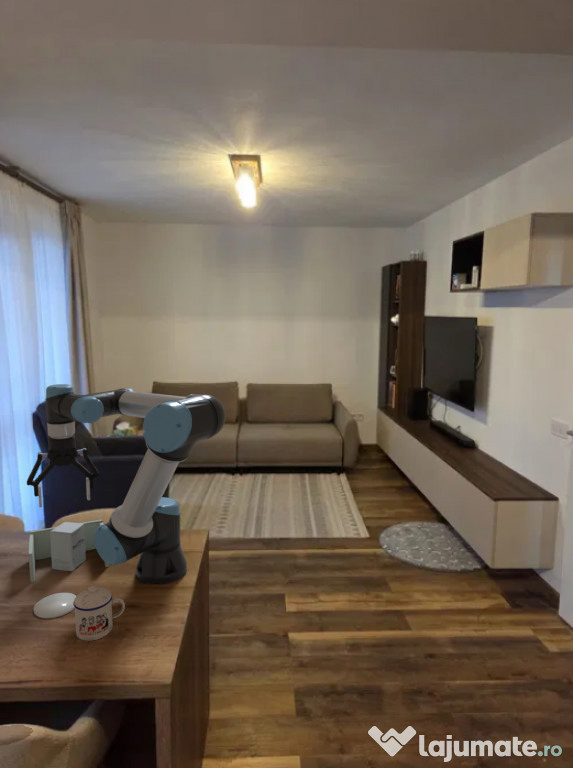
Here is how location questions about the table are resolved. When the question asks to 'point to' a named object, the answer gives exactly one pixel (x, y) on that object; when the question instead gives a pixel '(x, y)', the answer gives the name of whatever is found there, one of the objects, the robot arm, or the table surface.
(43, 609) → the coaster
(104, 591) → the teacup with lid
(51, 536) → the supplement box
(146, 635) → the table surface
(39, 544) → the three-sided green enclosure
